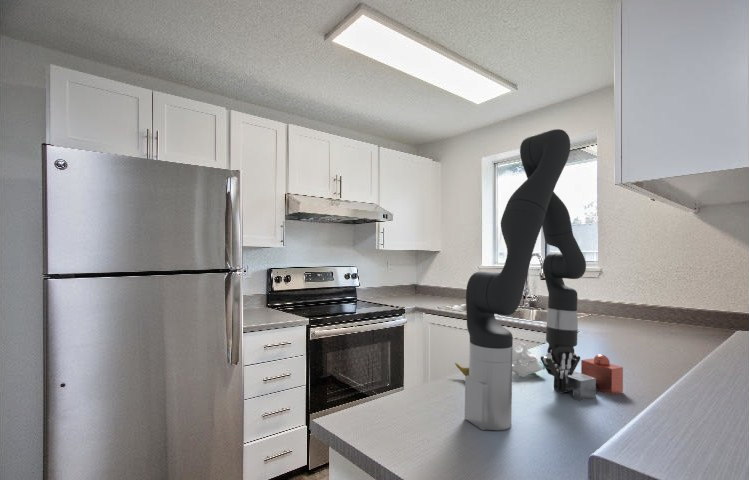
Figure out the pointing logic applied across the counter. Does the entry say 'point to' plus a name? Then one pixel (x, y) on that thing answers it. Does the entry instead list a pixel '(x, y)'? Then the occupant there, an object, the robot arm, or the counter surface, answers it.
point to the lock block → (581, 386)
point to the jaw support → (525, 361)
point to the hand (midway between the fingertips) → (559, 391)
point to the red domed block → (604, 374)
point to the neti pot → (463, 369)
